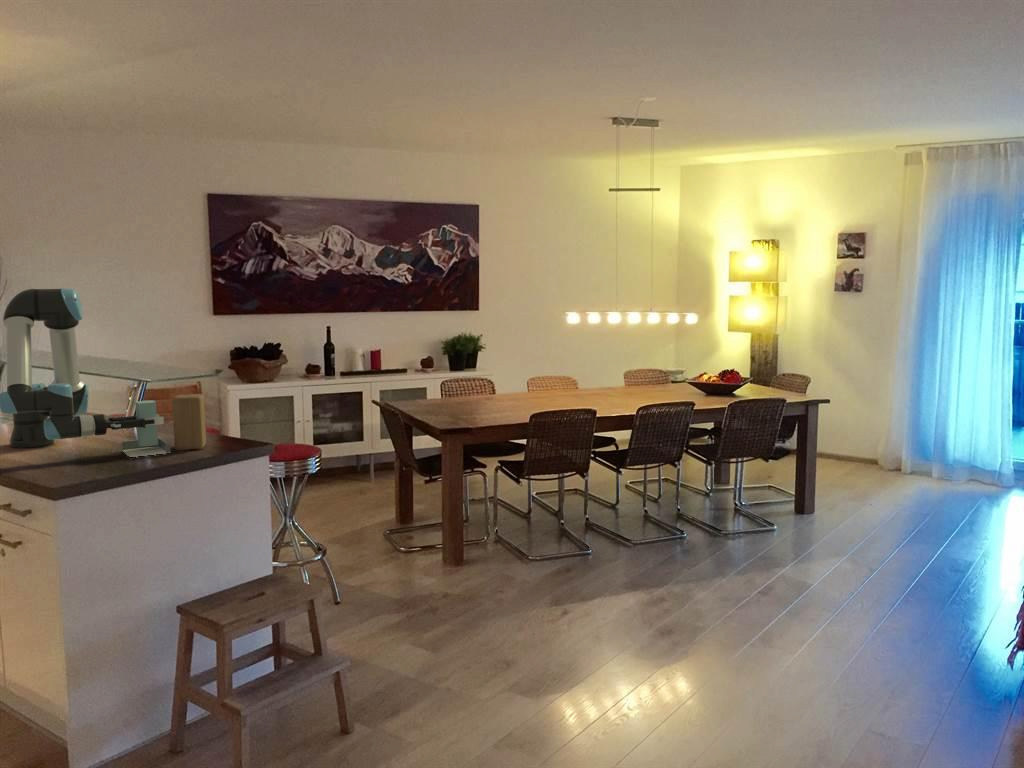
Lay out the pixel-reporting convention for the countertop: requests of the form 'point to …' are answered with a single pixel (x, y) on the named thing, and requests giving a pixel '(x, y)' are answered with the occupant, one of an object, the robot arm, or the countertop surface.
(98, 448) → the countertop surface
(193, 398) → the wooden block
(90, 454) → the countertop surface
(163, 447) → the corner jig
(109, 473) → the countertop surface
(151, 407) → the teal post
